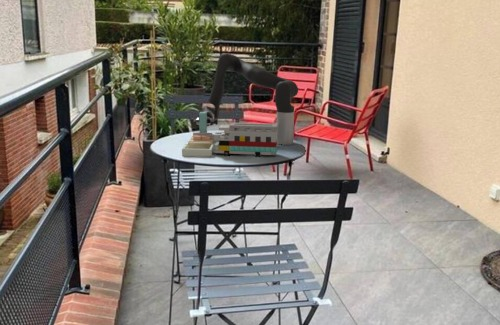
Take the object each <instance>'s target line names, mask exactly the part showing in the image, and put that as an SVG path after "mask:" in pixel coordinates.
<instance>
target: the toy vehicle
mask: <svg viewBox="0 0 500 325" xmlns="http://www.w3.org/2000/svg"><path fill="white" fill-rule="evenodd" d="M213 136H214V137H213V138H214V140H216V143H215V144H214V152H213V154H223V156H224V157H226V156H227V157H229V156H231V154H232V155H233V154H235V155H237V154H239V155H255V156H254V157H255V158H261V157H262V156H267V155H268V156H276V155H277V150H278V144H277V124H276V123H263V122H262V123H259V122H255V123H254V122H231V123H230V124H221V125H219V127H218V131H216V132H215V133H214V134H213ZM261 155H262V156H261Z"/></svg>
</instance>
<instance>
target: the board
mask: <svg viewBox="0 0 500 325" xmlns="http://www.w3.org/2000/svg"><path fill="white" fill-rule="evenodd" d="M213 137H214V135H212V138H210V141H202V139H201V141H198V140H193V135H192V136H191V138H190V139H189V140H188V142H187V144H188V149H210V147H211V145H214V144H215V143H216V142H217V140H214V138H213Z"/></svg>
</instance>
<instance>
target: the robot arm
mask: <svg viewBox="0 0 500 325" xmlns="http://www.w3.org/2000/svg"><path fill="white" fill-rule="evenodd" d="M227 71H229V72H233V73H236V74H239V75H241V76H243V77H244V78H245V79H246V81H248V82H250V83H252V84H254V85H256V86H260V87H262V88H267V89H268V88H269V89H272V90H274V93H275V94H274V97H275V99H274V100H275V101H274V102H275V107H276V123H275V124H277V145H281V144H282V146H283V145H284V146H288V145H289V146H290V145H294V137H295V136H294V135H295V134H294V133H295V127H294V123H295V122H294V121H295V106H294V105H292V103H291V98H294V97H296V96H297V95H298V93H299V87H298V85H297V83H296V82H294V81H293V80H290V79H286V78H284V77H281V76H278V75H276V74H274V73H272V72H270V71H268V70H266V69H264V68H262V67H260V66H258V65H255V64H252V63H249V62H246V61H244V60H243V59H241V58H240V57H238V56H236V55H234V54H231V53H225V52H223V53H222V54H220V56H219V58H218V59H217V63H216V71H215V74H214V75H215V76H214V81H213V85H212V89H211V91H210V95H209V98H208V102H209V104H211V105H212V106H213V107H211V106H208V105H204V106H203V107H202V109H201V110H200V112H207V127H209V126H210V127H211V126H213V125H216V126H217V125H218V124H219V118H220V107H221V103H222V99H223V97H224V92H225V75H226V74H227ZM190 125H194V126H196V125H199V117H197V118H196V117H192V118H191V119H190Z"/></svg>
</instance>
